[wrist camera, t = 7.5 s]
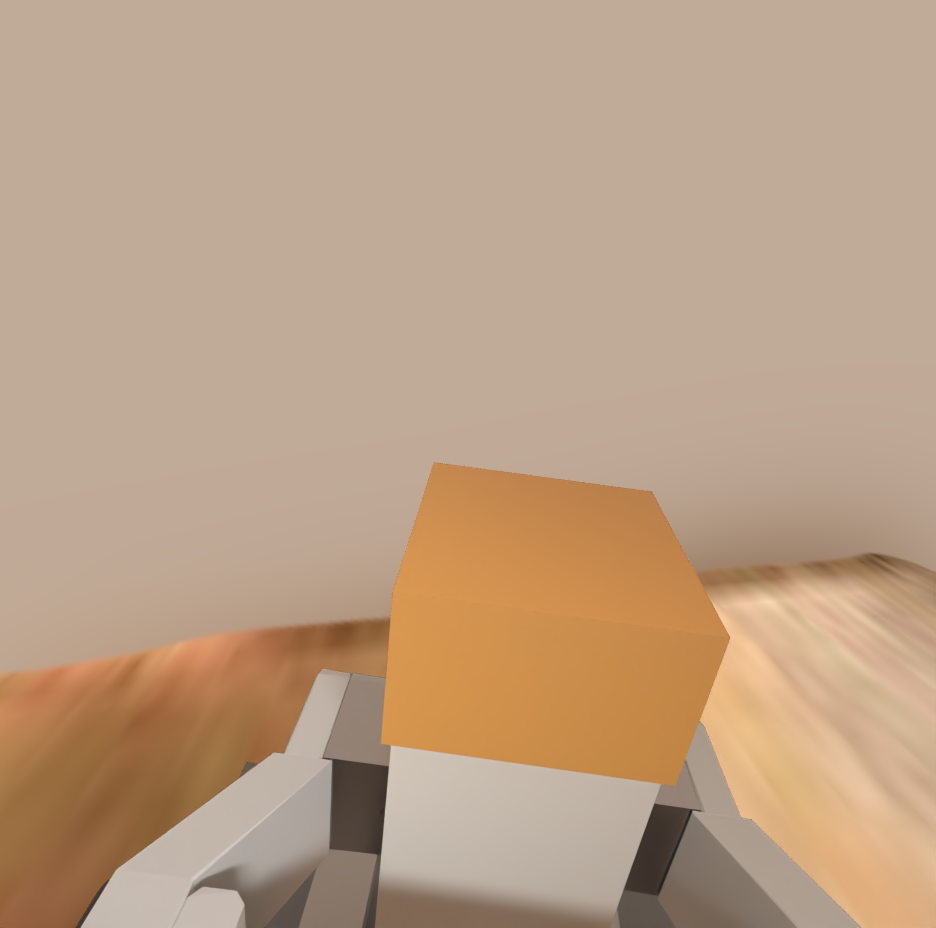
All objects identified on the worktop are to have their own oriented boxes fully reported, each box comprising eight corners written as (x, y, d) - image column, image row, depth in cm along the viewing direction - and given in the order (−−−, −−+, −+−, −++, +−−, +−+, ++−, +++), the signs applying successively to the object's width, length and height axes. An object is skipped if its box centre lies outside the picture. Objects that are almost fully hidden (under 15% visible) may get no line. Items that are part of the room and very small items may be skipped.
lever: (389, 898, 12) (433, 461, 8) (536, 919, 12) (651, 491, 8) (352, 1108, 9) (393, 590, 5) (544, 1137, 9) (730, 637, 5)
